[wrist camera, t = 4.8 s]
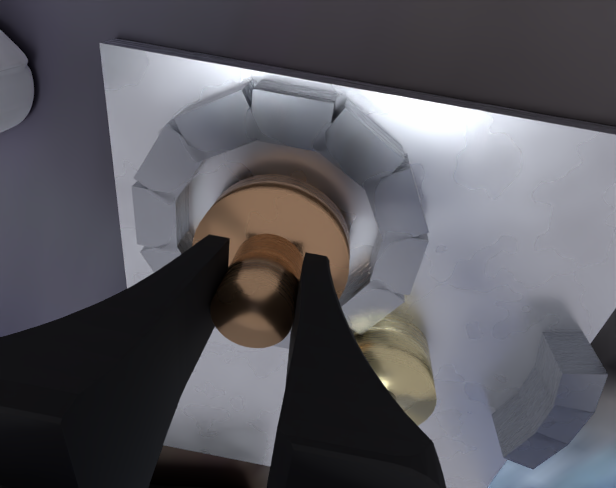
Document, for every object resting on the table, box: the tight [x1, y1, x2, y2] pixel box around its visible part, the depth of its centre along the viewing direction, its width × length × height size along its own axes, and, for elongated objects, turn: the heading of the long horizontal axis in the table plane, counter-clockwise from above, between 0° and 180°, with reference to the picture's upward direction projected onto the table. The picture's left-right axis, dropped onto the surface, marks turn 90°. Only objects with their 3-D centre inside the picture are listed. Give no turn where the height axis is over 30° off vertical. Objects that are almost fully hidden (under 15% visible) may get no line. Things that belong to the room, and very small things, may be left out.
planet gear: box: [192, 174, 350, 348], centre depth 13 cm, size 5×5×4 cm
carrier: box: [100, 38, 616, 488], centre depth 17 cm, size 18×20×4 cm
